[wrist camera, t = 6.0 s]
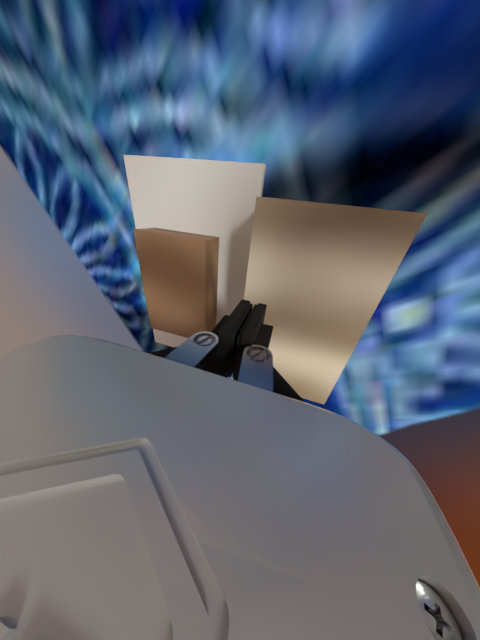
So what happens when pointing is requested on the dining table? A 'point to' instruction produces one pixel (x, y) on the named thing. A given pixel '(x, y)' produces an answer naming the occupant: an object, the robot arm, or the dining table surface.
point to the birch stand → (321, 281)
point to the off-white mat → (200, 213)
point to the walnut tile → (179, 279)
